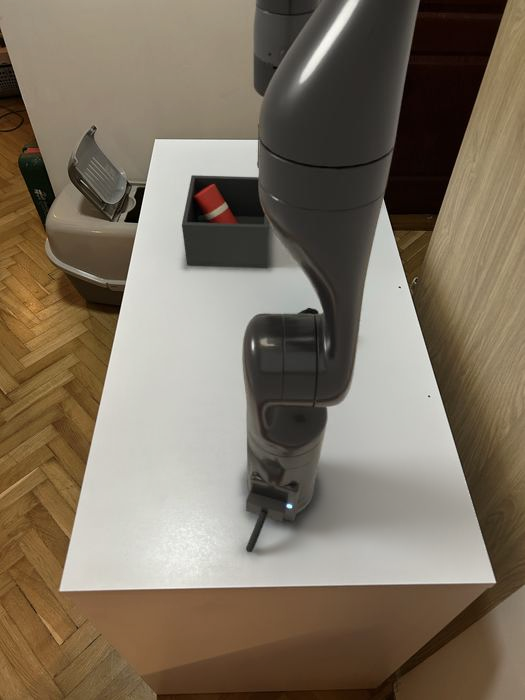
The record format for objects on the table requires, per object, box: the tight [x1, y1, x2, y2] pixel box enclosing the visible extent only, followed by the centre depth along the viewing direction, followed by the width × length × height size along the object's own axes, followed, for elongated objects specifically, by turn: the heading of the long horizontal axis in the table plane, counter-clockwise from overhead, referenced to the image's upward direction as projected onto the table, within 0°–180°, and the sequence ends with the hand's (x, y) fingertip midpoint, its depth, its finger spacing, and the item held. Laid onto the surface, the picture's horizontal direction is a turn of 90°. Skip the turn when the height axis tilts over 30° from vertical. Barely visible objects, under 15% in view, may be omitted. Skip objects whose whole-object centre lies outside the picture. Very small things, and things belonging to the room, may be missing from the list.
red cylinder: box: [194, 184, 238, 224], centre depth 104 cm, size 5×5×9 cm
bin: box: [181, 174, 270, 269], centre depth 104 cm, size 16×16×10 cm
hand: (280, 172), depth 74 cm, fingers open, 8 cm apart
